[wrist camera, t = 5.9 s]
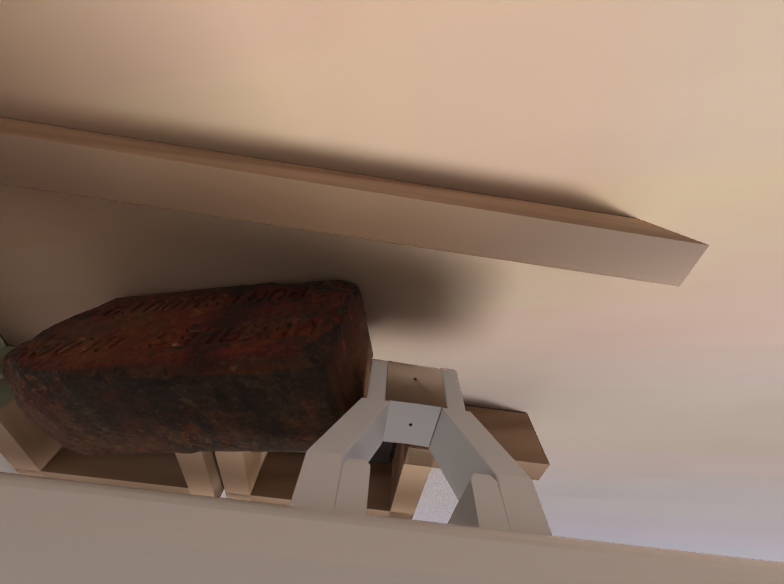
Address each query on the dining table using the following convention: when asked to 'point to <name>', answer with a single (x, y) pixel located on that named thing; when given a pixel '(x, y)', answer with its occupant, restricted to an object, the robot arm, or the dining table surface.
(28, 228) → the dining table surface
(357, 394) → the brick
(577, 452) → the dining table surface
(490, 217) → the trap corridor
